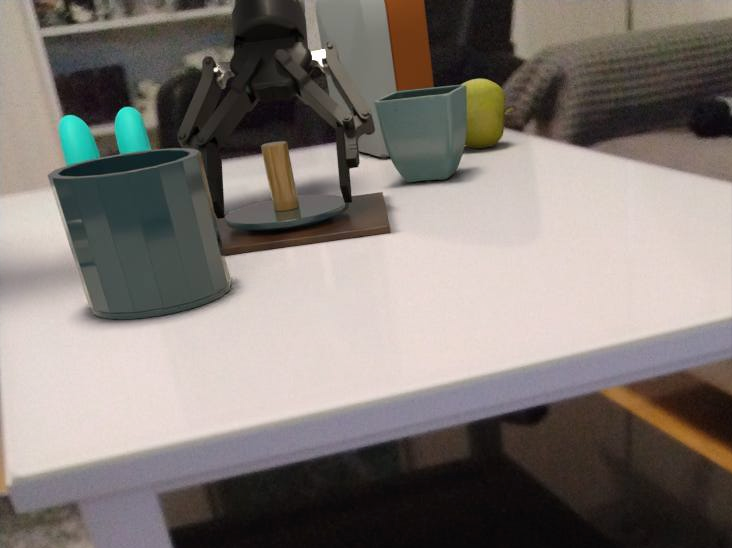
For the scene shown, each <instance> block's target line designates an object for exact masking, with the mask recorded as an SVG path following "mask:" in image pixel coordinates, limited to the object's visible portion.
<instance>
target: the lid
mask: <svg viewBox="0 0 732 548" xmlns="http://www.w3.org/2000/svg"><path fill="white" fill-rule="evenodd" d="M260 150H261V155H262V158H263V159H262V160H263V164H264V169H265V173H266V178H267V183H268V188H269V193H270V199H269V200H264V201H259V202H256V203H255V202H254V203H252V204H248V205H245V206H242V207H239V208H236V209H234V210H231V212H228V213H229V214H227V215H226V216H225V222H226V225H227V226H228V227H230V228H234V229H240V230H252V231H261V232H267V231H282V230H289V229H296V228H301V227H306V226H310V225H313V224H317V223H320V222H322V221H325V220H327V219H328V218H331V217H333V216H336V215H338V214H341V213H342V212H344V211H346V210H347V209H348V208H349V203H345V202H344V199H343V196H342V195H337V194H326V193H325V194H321V193H320V194H319V193H318V194H305V195H298V192H297V188H296V187H297V186H296V182H295V181H296V180H295V176H294V171H293V166H292V165H293V164H292V159H291V156H290V151H289V146H288V142H287V141H283V140H282V141H281V140H280V141H272V142H267V143H263V144H262V145H260Z"/></svg>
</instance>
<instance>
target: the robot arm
mask: <svg viewBox="0 0 732 548" xmlns="http://www.w3.org/2000/svg"><path fill="white" fill-rule="evenodd" d="M305 2H306V1H305V0H230V10H231V13H232V14H231V28H232V44H233V46H232V47H233V54H232V57H231V59H230V60H229V61H222V62H221V61H219V62H216V60H215V58H213V57H212V56H211V55H209V56H205V57H203V59H202V62H201V66H202V67H201V78H200V80H199V82H198V85H197V87H196V89H195V92H194V94H193V96H192V99H191V101H190V103H189V105H188V107H187V111H186V112H185V115H184V117H183V120H182V122H181V124H180V127H179V130H178V132H177V134H176V138H177V141H178V144H179V145H180V148H192V149H195V150H198V151H200V153H201V157H202V161H203V165H204V169H205V174H206V178H207V182H208V186H209V191H210V195H211V199H212V203H213V208H214V212H215V215H216V217H217V219H220V218H225V213H226V212H225V193H224V178H223V177H224V176H223V175H224V174H223V160H222V158H221V156H220V154H219V151H220V150H221V148H222V147H223V145H224V144H225V142H226V141H227V140H228V138H229V137H230V136H231V134H232V133H233V131H235V129H236V128H237V126H238V125H239V124H240V122H241V121H242V119H243V118H244V117H245V115H246V114H247V113H251V112H252V111H253V109H254V108H255V107H256V106H257V104H258V102H259V101H260V103H261V104H269V103H272V102H275V101H292V99H293V97H294V96H296V97H297V98H299V100H301V101H302V102H303V103H304V104H305V105H306V106H309V107H311V108H312V110H314V111H315V112H316V113H317V114H318V115H319V116H320V117H321V118H322V119H323V120H325V122H326V123H327V124H329V126H330V127H332V128H333V129H334V132H335V133H334V134H335V146H336V158H337V159H336V160H337V170H338V182H339V189H340V192H341V196H343V199H344V202H345V203H351V202H352V196H353V195H352V183H351V170H350V169H355V168H359V167H360V163H361V161H360V151H359V149H358V139H359V137H360V136H362V135H363V134H366V135H371V134H373V133H374V132H375V127H374V122H373V118H372V114H371V110H370V109H369V107H368V106H367V104H366V102H365V101H364V99H363V98H362V96H361V95H360V93H359V91H358V90H357V88H356V87H355V85H354V83H353V82H352V80H351V79H350V77H349V75H348V74H347V72H346V71H345V69H344V68H343V66H342V64H341V63H340V59H339V55H338V51H337V47H336V44H335V43H334V42H333V41H328V42H326V43H325V45H324V49H323V50H322V49H320V50H319V49H318V50H313V51H311V49H310V48H309V42H308V41H309V40H308V29H307V18H306V3H305ZM315 67H318V68H319V69H320V70H321V72H322V73H323V74H325V76H326V75H327V76H330V75H331V79H332V81H333V83H334V85H335V87H336V89H337V90H338V92H339V93H340V95H341V97H342V98H343V100H344V101H345V103H346V105H347V106H348V108H349V109H350V111H351V113H350V114H351V115H349V114H348V113H347V112H346V111H345V110H344V109H343V108H342V107H341V106H340V105H338V104H337V103H336V102H335V101H334V100H333V99H332V98H331V97H330V95H329V93H327V92H326V91H325V90H324V89H323V88H321V87H320V86H319V85H318V84H317V83H316V82H315V81H314V80H313V79H312V78H311V76H310V75H311V74H312V73H313V71H314V69H315ZM230 78H234V79H233V80H232V81H231V84H230V89H229V91H228V92H227V94H226V95H225V96H224V98H223V99H222V101H221V102H220V103H219V105H218V106H217V104H218V102H219V99H220V97H221V92H222V90H224V89H225V88H226V87H227V85H226V84H227V81H228V80H229V79H230ZM216 107H217V108H216ZM352 114H353V115H352ZM353 116H354V117H353Z"/></svg>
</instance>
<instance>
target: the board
mask: <svg viewBox="0 0 732 548" xmlns="http://www.w3.org/2000/svg"><path fill="white" fill-rule="evenodd" d="M229 213H230V212H225V216H226V215H227V214H229ZM215 216H216V215H215ZM388 216H389V215H388V211H387V206H386V202H385V197H384V192H383V191H379V192H373V193H365V194H358V195H352V202H351V203H349V208H348V209H347V210H346V211H344V212H342V213H341V214H338V215H336V216H333V217H331V218H328V219H327V220H325V221H322V222H320V223H317V224H313V225H310V226H306V227H301V228H296V229H289V230H282V231H267V232H261V231H252V230H240V229H234V228H230V227H228V226H227V225H226V222H225V218H220V219H217V217H216V220H217V225H218V229H219V233H220V237H221V242H222V246H223V250H224V254H225V256H228V255H236V254H242V253H251V252H257V251H265V250H273V249H280V248H286V247H293V246H302V245H308V244H315V243H323V242H329V241H330V242H331V241H338V240H345V239H346V240H347V239H352V238H353V239H354V238H360V237H367V236H375V235H381V234H382V235H383V234H389V233H391V227H390V221H389V217H388Z"/></svg>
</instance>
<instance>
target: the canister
mask: <svg viewBox="0 0 732 548" xmlns="http://www.w3.org/2000/svg"><path fill="white" fill-rule="evenodd" d="M47 179H48V182H49V185H50V188H51V192H52V194H53V197H54V200H55V204H56V207H57V210H58V213H59V216H60V219H61V222H62V226H63V229H64V232H65V235H66V238H67V240H68V244H69V248H70V251H71V254H72V257H73V261H74V264H75V267H76V271H77V273H78V277H79V280H80V283H81V286H82V289H83V292H84V295H85V298H86V303H87V305H88V306H89V308H90V311H91V313H92V314H93V315H94V316H96V317H99V318H102V319H107V320H108V319H109V320H137V319H147V318H155V317H160V316H165V315H171V314H176V313H180V312H185V311H189V310H191V309H196V308H198V307H201V306H204V305H206V304H209V303H211V302H213V301H216V300H219V298H221V297H223V296H225V295H226V294H227V293H228V292H229V291H231V290H230V289H231V285H232V284H231V275H230V272H229V268H228V263H227V259H226V255H225V254H224V250H223V246H222V242H221V237H220V233H219V229H218V225H217V220H216V216H215V212H214V208H213V203H212V199H211V195H210V191H209V186H208V182H207V178H206V174H205V169H204V165H203V161H202V157H201V153H200V151H198V150H195V149H192V148H182V147H170V148H169V147H168V148H157V149H151V150H146V151H139V152H131V153H124V154H120V153H118V154H114V155H107V156H102V157H101V156H100V158H96V159H92V160H88V161H83V162H79V163H75V164H71V165H68V166H67V165H66V166H62V167H60V168H56V169H53V171H51V172H49V173H48V174H47Z"/></svg>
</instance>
